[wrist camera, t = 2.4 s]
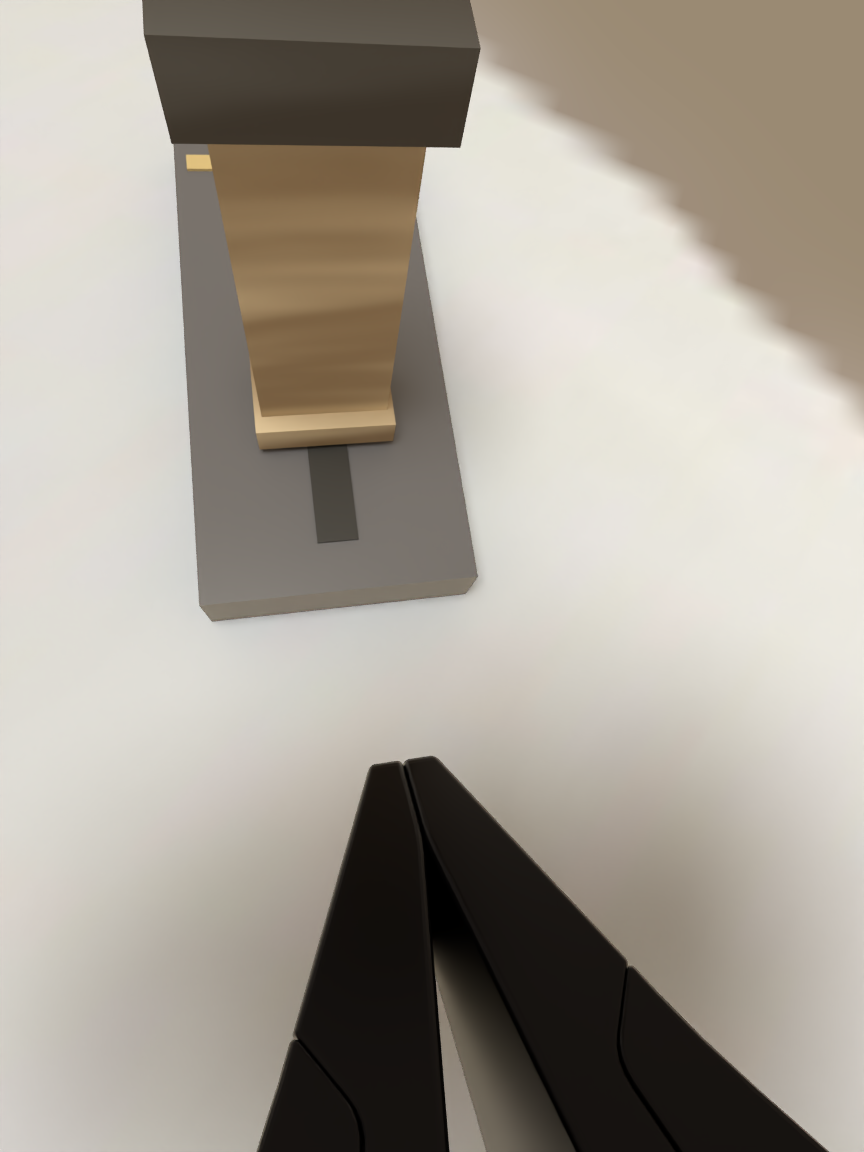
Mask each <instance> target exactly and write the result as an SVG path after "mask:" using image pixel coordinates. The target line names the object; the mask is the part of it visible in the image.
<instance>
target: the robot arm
mask: <svg viewBox="0 0 864 1152" xmlns="http://www.w3.org/2000/svg"><path fill="white" fill-rule="evenodd" d="M435 976H436V979H437V982H438V986H439V989H440V993H441V996H442V1000H443V1003H444V1007H445V1010H446V1014H447V1017H448V1020H449V1024H450V1027H451V1031H452V1034H453V1038H454V1041H455V1045H456V1048H457V1051H458V1055H459V1058H460V1062H461V1065H462V1069H463V1072H464V1076H465V1079H466V1083H467V1086H468V1089H469V1093H470V1096H471V1100H472V1103H473V1107H474V1110H475V1114H476V1117H477V1120H478V1124H479V1127H480V1131H481V1134H482V1138H483V1141H484V1145H485V1148H486V1152H829V1151H828V1150H827V1149H825V1148H824V1147H823V1146H822V1145H821V1144H820V1143H819V1142H817V1141H816V1140H815V1139H814V1138H813V1137H812V1136H811V1135H810V1134H808V1133H807V1132H806V1131H805V1130H804V1129H803V1128H802V1127H801V1126H799V1125H798V1124H797V1123H796V1122H795V1121H794V1120H793V1119H792V1118H790V1117H789V1116H788V1115H787V1114H786V1113H785V1112H784V1111H782V1110H781V1109H780V1108H779V1107H778V1106H777V1105H776V1104H775V1103H773V1102H772V1101H771V1100H770V1099H769V1098H768V1097H767V1096H766V1095H764V1094H763V1093H762V1092H761V1091H760V1090H759V1089H758V1088H757V1087H755V1086H754V1085H753V1084H752V1083H751V1082H750V1081H749V1080H748V1079H747V1078H746V1077H745V1076H743V1075H742V1074H741V1073H740V1072H739V1071H738V1070H737V1069H736V1068H735V1067H734V1066H733V1065H732V1064H730V1063H729V1062H728V1061H727V1060H726V1059H725V1058H724V1057H723V1056H722V1055H721V1054H720V1053H718V1052H717V1051H716V1050H715V1049H714V1048H713V1047H712V1046H711V1045H710V1044H709V1043H708V1042H707V1041H705V1040H704V1039H703V1038H702V1037H701V1036H700V1035H699V1034H698V1033H697V1032H696V1031H695V1030H694V1029H693V1028H692V1027H691V1025H690V1024H689V1023H688V1022H687V1021H686V1020H685V1019H684V1018H683V1017H682V1016H681V1015H680V1014H679V1013H678V1012H677V1011H676V1010H675V1009H674V1008H673V1007H672V1006H671V1005H670V1004H669V1003H668V1002H667V1001H666V1000H665V999H664V998H663V997H662V996H661V995H660V994H659V993H658V992H657V991H656V990H655V989H654V988H653V987H652V985H651V984H650V983H649V982H648V981H647V980H646V979H645V978H644V977H643V976H642V975H641V974H640V973H639V972H638V970H637V969H636V968H635V967H634V966H628V968H627V960H626V958H625V957H624V956H623V955H622V954H621V953H620V952H619V951H618V950H617V949H616V947H615V946H614V945H613V944H612V943H611V942H610V941H609V940H608V939H607V938H606V937H605V936H604V935H603V934H602V933H601V931H600V930H599V929H598V928H597V927H596V926H595V925H594V924H593V923H592V922H591V921H590V920H589V919H588V918H587V917H586V916H585V914H584V913H583V912H582V911H581V910H580V909H579V908H578V907H577V906H576V905H575V904H574V903H573V902H572V901H571V900H570V898H569V897H568V896H567V895H566V894H565V893H564V892H563V891H562V890H561V889H560V888H559V887H558V886H557V885H556V884H555V883H554V881H553V880H552V879H551V878H550V877H549V876H548V875H547V874H546V873H545V872H544V871H543V870H542V869H541V868H540V867H539V866H538V864H537V863H536V862H535V861H534V860H533V859H532V858H531V857H530V856H529V855H528V854H527V853H526V852H525V851H524V850H523V848H522V847H521V846H520V845H519V844H518V843H517V842H516V841H515V840H514V839H513V838H512V837H511V836H510V835H509V834H508V833H507V831H506V830H505V829H504V828H503V827H502V826H501V825H500V824H499V823H498V822H497V821H496V820H495V819H494V818H493V817H492V816H491V814H490V813H489V812H488V811H487V810H486V809H485V808H484V807H483V806H482V805H481V804H480V803H479V802H478V801H477V800H476V798H475V797H474V796H473V795H472V794H471V793H470V792H469V791H468V790H467V789H466V788H465V787H464V786H463V785H462V784H461V783H460V781H459V780H458V779H457V778H456V777H455V776H454V775H453V774H452V773H451V772H450V771H449V770H448V769H447V768H446V767H445V765H444V764H443V763H442V762H441V761H440V760H439V759H438V758H436V757H434V756H427V757H421V758H414V759H408V760H406V761H405V762H404V764H402V763H401V762H399V761H394V762H387V763H381V764H374V765H372V766H371V767H370V768H369V770H368V773H367V777H366V780H365V784H364V787H363V791H362V794H361V798H360V801H359V805H358V808H357V812H356V815H355V819H354V822H353V826H352V829H351V833H350V836H349V840H348V843H347V847H346V850H345V854H344V857H343V861H342V864H341V868H340V871H339V875H338V878H337V882H336V885H335V889H334V892H333V896H332V899H331V903H330V906H329V910H328V913H327V917H326V920H325V923H324V927H323V930H322V934H321V937H320V941H319V944H318V948H317V951H316V955H315V958H314V962H313V965H312V969H311V972H310V976H309V979H308V983H307V986H306V990H305V993H304V997H303V1000H302V1004H301V1007H300V1011H299V1014H298V1018H297V1021H296V1025H295V1028H294V1032H293V1037H294V1040H292V1041H291V1042H290V1044H289V1048H288V1051H287V1055H286V1058H285V1062H284V1065H283V1068H282V1072H281V1075H280V1079H279V1082H278V1086H277V1089H276V1092H275V1095H274V1098H273V1101H272V1105H271V1108H270V1111H269V1114H268V1117H267V1120H266V1123H265V1127H264V1130H263V1133H262V1136H261V1139H260V1142H259V1146H258V1149H257V1152H449V1141H448V1129H447V1116H446V1104H445V1091H444V1079H443V1066H442V1054H441V1041H440V1029H439V1016H438V1004H437V991H436V979H435Z"/></svg>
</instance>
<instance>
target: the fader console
mask: <svg viewBox="0 0 864 1152" xmlns="http://www.w3.org/2000/svg"><path fill="white" fill-rule="evenodd" d="M174 160H175V178H176V196H177V214H178V232H179V249H180V267H181V285H182V303H183V321H184V339H185V357H186V375H187V393H188V411H189V429H190V446H191V464H192V482H193V500H194V518H195V536H196V554H197V572H198V590H199V606H200V607H201V608H202V610H203V611H204V612H205V613H206V615H207V616H208V617H209V618H210V620H211V621H220V620H229V619H238V618H247V617H256V616H266V615H275V614H284V613H293V612H302V611H311V610H321V609H330V608H339V607H348V606H357V605H367V604H376V603H385V602H394V601H403V600H412V599H422V598H431V597H440V596H449V595H458V594H465V593H466V592H467V591H468V589H469V588H470V586H471V585H472V584H473V582H474V581H475V580H476V578H477V577H478V575H477V569H476V563H475V558H474V552H473V546H472V540H471V534H470V528H469V523H468V517H467V511H466V505H465V499H464V493H463V488H462V482H461V476H460V470H459V464H458V458H457V453H456V447H455V441H454V435H453V429H452V423H451V418H450V412H449V406H448V400H447V394H446V388H445V383H444V377H443V371H442V365H441V359H440V353H439V348H438V342H437V336H436V330H435V324H434V318H433V313H432V307H431V301H430V295H429V289H428V283H427V278H426V272H425V266H424V260H423V254H422V248H421V243H420V237H419V231H418V225H417V219H415V226H414V232H413V239H412V246H411V253H410V259H409V266H408V273H407V279H406V286H405V293H404V299H403V306H402V313H401V319H400V326H399V333H398V339H397V346H396V353H395V360H394V366H393V373H392V380H391V386H390V388H391V394H392V401H393V408H394V415H395V422H396V427H395V433H394V438H393V441H383V442H368V443H353V444H338V445H322V446H307V447H292V448H277V449H261V450H260V449H259V445H258V441H257V436H256V429H255V417H254V406H253V394H252V382H251V370H250V358H249V351H248V346H247V341H246V336H245V331H244V326H243V321H242V316H241V311H240V306H239V301H238V296H237V291H236V286H235V281H234V276H233V271H232V266H231V261H230V256H229V251H228V246H227V241H226V236H225V231H224V226H223V221H222V216H221V211H220V206H219V201H218V196H217V191H216V186H215V181H214V176H213V171H212V166H211V161H210V156H209V151H208V146H207V144H174Z"/></svg>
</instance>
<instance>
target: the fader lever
mask: <svg viewBox="0 0 864 1152" xmlns="http://www.w3.org/2000/svg"><path fill="white" fill-rule="evenodd" d="M142 3H143V26H144V37H145V41H146V45H147V49H148V53H149V57H150V61H151V64H152V68H153V72H154V76H155V80H156V84H157V88H158V92H159V96H160V100H161V104H162V107H163V111H164V115H165V119H166V123H167V127H168V131H169V135H170V139H171V143H172V144H207V146H208V151H209V156H210V161H211V166H212V171H213V176H214V181H215V186H216V191H217V196H218V201H219V206H220V211H221V216H222V221H223V226H224V231H225V236H226V241H227V246H228V251H229V256H230V261H231V266H232V271H233V276H234V281H235V286H236V291H237V296H238V301H239V306H240V311H241V316H242V321H243V326H244V331H245V336H246V341H247V346H248V351H249V358H250V370H251V382H252V394H253V406H254V417H255V429H256V436H257V441H258V445H259V449H260V450H261V449H277V448H292V447H307V446H322V445H338V444H353V443H368V442H383V441H393V438H394V433H395V427H396V422H395V415H394V408H393V401H392V394H391V388H390V386H391V380H392V373H393V366H394V360H395V353H396V346H397V339H398V333H399V326H400V319H401V313H402V306H403V299H404V293H405V286H406V279H407V273H408V266H409V259H410V253H411V246H412V239H413V232H414V226H415V219H416V212H417V206H418V199H419V192H420V186H421V179H422V172H423V166H424V159H425V152H426V147H453V148H460V146H461V141H462V137H463V132H464V127H465V122H466V117H467V112H468V107H469V102H470V97H471V92H472V88H473V83H474V78H475V73H476V68H477V63H478V58H479V53H480V44H479V39H478V35H477V31H476V26H475V21H474V17H473V12H472V8H471V3H470V0H142Z"/></svg>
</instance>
